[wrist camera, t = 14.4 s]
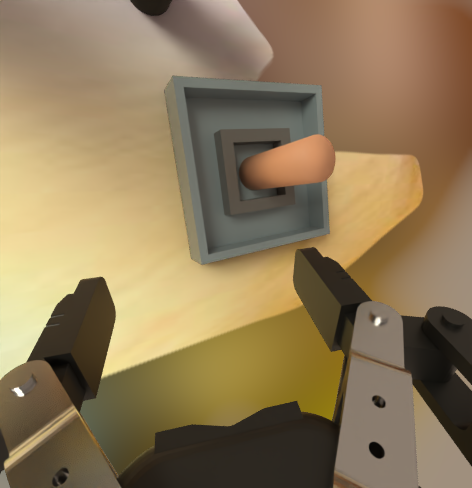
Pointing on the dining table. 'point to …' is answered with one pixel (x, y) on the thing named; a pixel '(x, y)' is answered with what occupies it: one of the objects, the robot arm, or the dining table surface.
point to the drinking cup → (152, 6)
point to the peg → (289, 164)
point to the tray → (232, 155)
